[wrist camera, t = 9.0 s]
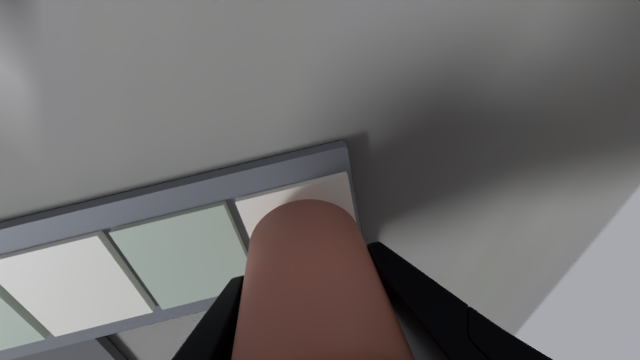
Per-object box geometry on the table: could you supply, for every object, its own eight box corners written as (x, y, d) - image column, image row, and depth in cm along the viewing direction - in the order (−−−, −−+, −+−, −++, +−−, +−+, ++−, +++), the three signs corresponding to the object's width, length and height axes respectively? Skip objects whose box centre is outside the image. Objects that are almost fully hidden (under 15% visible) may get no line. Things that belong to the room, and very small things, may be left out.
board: (363, 258, 13) (369, 274, 12) (-118, 379, 13) (-148, 405, 12) (343, 139, 10) (349, 149, 9) (-274, 288, 10) (-329, 312, 9)
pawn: (367, 273, 11) (511, 654, 4) (267, 298, 11) (247, 731, 4) (352, 186, 9) (565, 609, 2) (232, 215, 9) (84, 749, 2)
